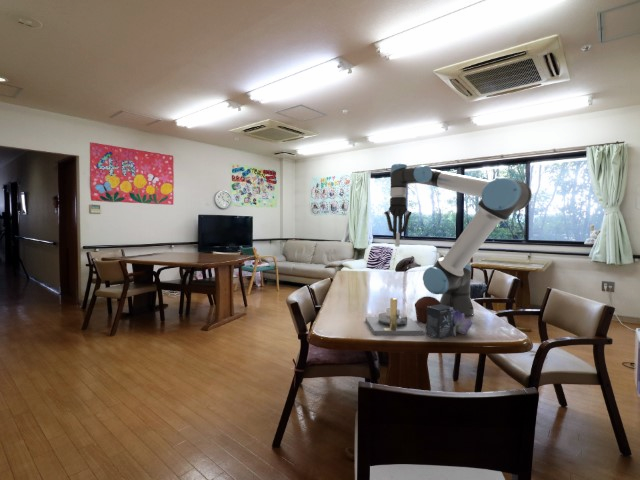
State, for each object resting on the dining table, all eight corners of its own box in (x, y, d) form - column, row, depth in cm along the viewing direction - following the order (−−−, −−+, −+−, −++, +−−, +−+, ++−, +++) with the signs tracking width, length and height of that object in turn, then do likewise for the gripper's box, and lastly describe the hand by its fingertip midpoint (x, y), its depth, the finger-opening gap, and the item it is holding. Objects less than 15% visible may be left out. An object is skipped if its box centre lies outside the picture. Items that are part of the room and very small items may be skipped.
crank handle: (378, 316, 135) (379, 289, 134) (406, 318, 132) (406, 291, 132) (377, 328, 119) (378, 298, 118) (409, 330, 117) (409, 300, 116)
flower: (468, 322, 113) (463, 303, 121) (443, 328, 116) (441, 310, 125) (478, 341, 115) (473, 321, 124) (454, 346, 119) (450, 327, 128)
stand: (408, 320, 136) (408, 317, 136) (423, 334, 119) (423, 330, 119) (365, 320, 135) (365, 317, 135) (374, 334, 118) (374, 330, 118)
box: (438, 339, 114) (439, 309, 113) (425, 335, 119) (426, 306, 118) (452, 335, 118) (453, 306, 117) (439, 331, 123) (440, 303, 122)
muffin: (442, 327, 128) (443, 301, 128) (413, 324, 132) (414, 299, 131) (441, 318, 139) (442, 295, 139) (414, 316, 143) (415, 293, 142)
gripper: (409, 197, 160) (408, 245, 162) (382, 197, 160) (381, 245, 161) (414, 196, 153) (412, 246, 154) (386, 196, 152) (385, 246, 154)
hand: (397, 246), depth 158 cm, fingers closed
